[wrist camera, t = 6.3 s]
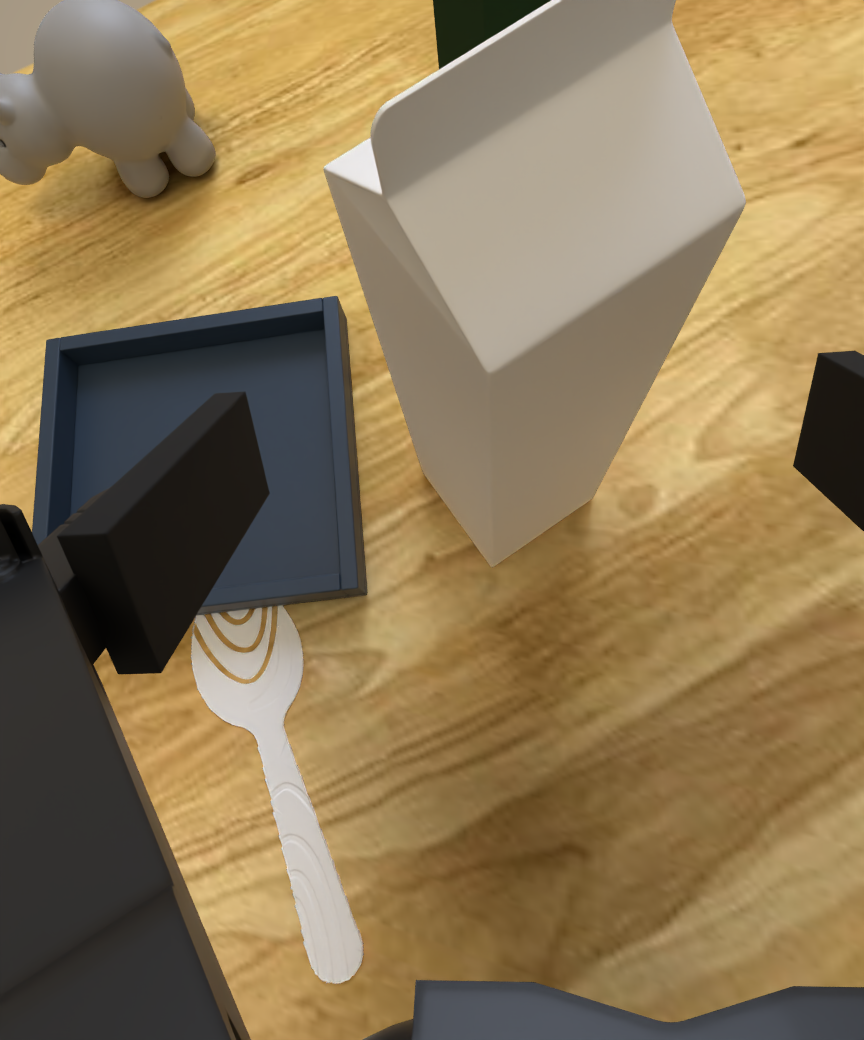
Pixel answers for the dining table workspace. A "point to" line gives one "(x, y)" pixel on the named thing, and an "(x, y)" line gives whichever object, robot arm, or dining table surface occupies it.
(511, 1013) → the robot arm
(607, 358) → the milk
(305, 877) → the spoon
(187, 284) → the dining table surface
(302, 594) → the tray
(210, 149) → the toy rhinoceros
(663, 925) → the dining table surface
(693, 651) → the dining table surface
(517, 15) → the beer bottle
